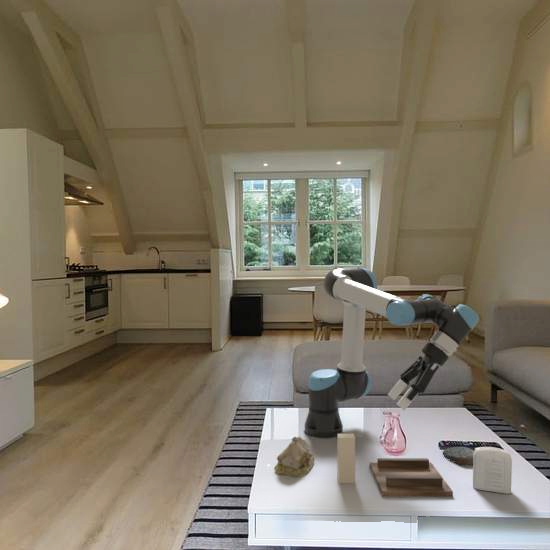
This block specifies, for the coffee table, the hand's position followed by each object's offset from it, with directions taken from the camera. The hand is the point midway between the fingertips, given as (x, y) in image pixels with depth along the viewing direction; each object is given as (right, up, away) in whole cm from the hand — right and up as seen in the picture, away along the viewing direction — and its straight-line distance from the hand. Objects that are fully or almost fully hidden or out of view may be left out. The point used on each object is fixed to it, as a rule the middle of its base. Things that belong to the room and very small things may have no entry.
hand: (395, 402), depth 135 cm
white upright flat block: (+27, -24, -6) cm, 36 cm away
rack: (+4, -24, -1) cm, 24 cm away
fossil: (+27, -24, +14) cm, 39 cm away
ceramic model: (-30, -24, +9) cm, 40 cm away
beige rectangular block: (-15, -24, -1) cm, 28 cm away
